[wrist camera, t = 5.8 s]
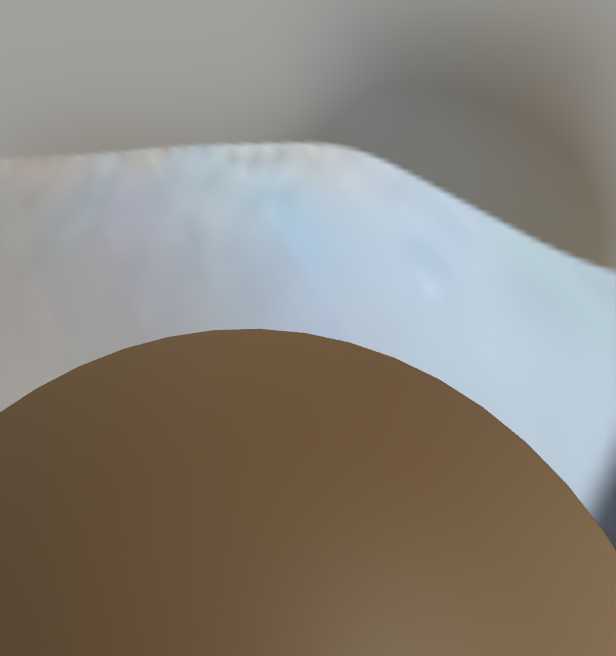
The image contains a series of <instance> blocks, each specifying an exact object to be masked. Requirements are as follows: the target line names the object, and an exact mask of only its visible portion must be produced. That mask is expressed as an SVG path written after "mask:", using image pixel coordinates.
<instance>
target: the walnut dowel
mask: <svg viewBox="0 0 616 656" xmlns="http://www.w3.org/2000/svg"><path fill="white" fill-rule="evenodd" d="M0 656H616V550H615V548H614V547H613V545H612V543H611V542H610V540H609V539H608V537H607V535H606V534H605V532H604V531H603V530H602V529H601V527H600V526H599V525H598V523H597V522H596V521H595V520H594V518H593V517H592V516H591V515H590V513H589V512H588V511H587V509H586V508H585V507H584V506H583V504H582V503H581V502H580V500H579V499H578V498H577V497H576V495H575V494H574V493H573V491H572V490H571V489H570V488H569V486H568V485H567V484H566V483H565V482H564V481H563V480H562V479H561V478H560V477H559V476H558V475H557V474H556V473H555V472H554V471H553V470H552V468H551V467H550V466H549V465H548V464H547V463H546V462H545V461H544V460H543V459H542V458H541V457H540V456H539V455H538V454H537V453H536V452H535V451H534V450H533V449H532V448H531V447H530V446H529V445H528V444H527V443H526V442H525V441H524V440H523V439H521V438H520V437H519V436H518V435H516V434H515V433H514V432H513V431H511V430H510V429H509V428H508V427H507V426H505V425H504V424H503V423H502V422H500V421H499V420H498V419H497V418H495V417H494V416H493V415H492V414H491V413H489V412H488V411H487V410H486V409H484V408H483V407H482V406H480V405H479V404H477V403H475V402H474V401H472V400H471V399H469V398H468V397H466V396H464V395H463V394H461V393H460V392H458V391H457V390H455V389H453V388H452V387H450V386H449V385H447V384H446V383H444V382H442V381H441V380H439V379H437V378H435V377H433V376H431V375H429V374H427V373H425V372H423V371H421V370H419V369H416V368H414V367H412V366H410V365H408V364H406V363H404V362H402V361H400V360H398V359H396V358H393V357H390V356H387V355H384V354H381V353H379V352H376V351H373V350H370V349H367V348H364V347H361V346H358V345H355V344H352V343H349V342H344V341H340V340H335V339H330V338H325V337H321V336H316V335H311V334H307V333H298V332H287V331H276V330H265V329H242V330H213V331H206V332H199V333H192V334H186V335H179V336H172V337H167V338H163V339H159V340H156V341H152V342H148V343H144V344H141V345H137V346H133V347H129V348H126V349H123V350H120V351H117V352H115V353H112V354H110V355H107V356H105V357H102V358H99V359H97V360H94V361H92V362H89V363H87V364H84V365H81V366H79V367H77V368H75V369H73V370H71V371H69V372H68V373H66V374H64V375H62V376H60V377H58V378H56V379H54V380H52V381H50V382H48V383H46V384H44V385H43V386H41V387H39V388H37V389H35V390H34V391H32V392H31V393H29V394H28V395H26V396H24V397H23V398H21V399H20V400H18V401H17V402H15V403H14V404H12V405H11V406H9V407H8V408H6V409H5V410H3V411H2V412H0Z"/></svg>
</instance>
